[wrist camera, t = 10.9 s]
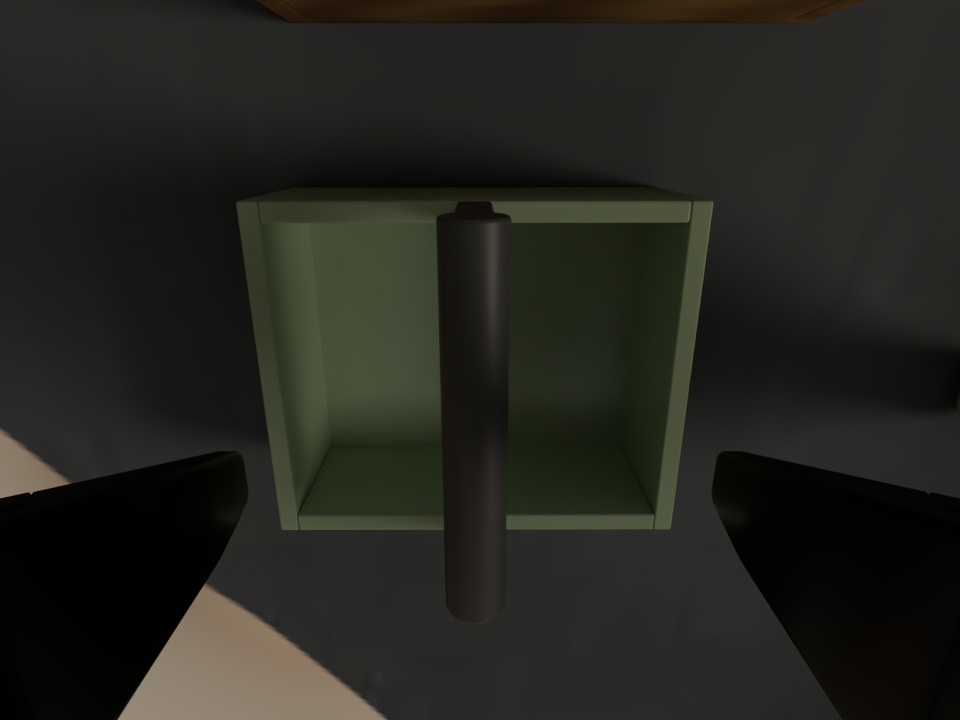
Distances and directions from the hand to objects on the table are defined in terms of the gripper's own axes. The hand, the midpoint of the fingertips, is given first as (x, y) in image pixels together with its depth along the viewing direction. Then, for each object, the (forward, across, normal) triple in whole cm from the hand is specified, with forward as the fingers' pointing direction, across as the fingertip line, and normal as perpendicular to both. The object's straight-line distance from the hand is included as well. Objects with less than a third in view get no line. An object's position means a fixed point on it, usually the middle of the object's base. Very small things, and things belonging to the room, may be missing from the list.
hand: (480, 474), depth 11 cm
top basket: (+9, 0, 0) cm, 9 cm away
